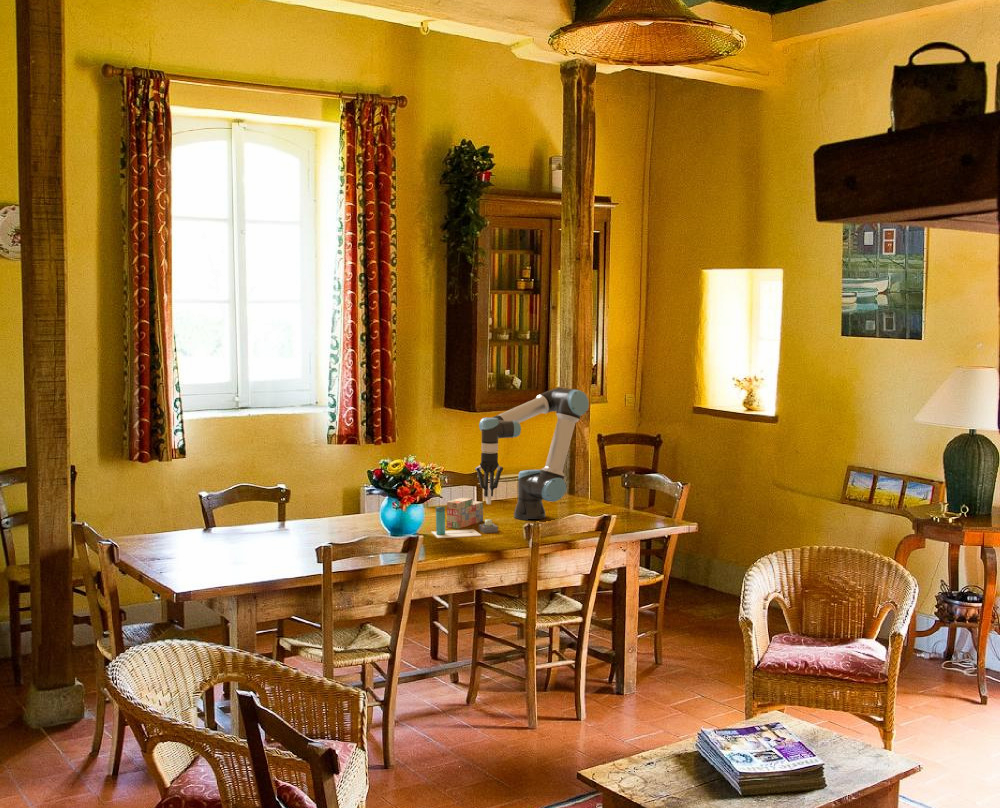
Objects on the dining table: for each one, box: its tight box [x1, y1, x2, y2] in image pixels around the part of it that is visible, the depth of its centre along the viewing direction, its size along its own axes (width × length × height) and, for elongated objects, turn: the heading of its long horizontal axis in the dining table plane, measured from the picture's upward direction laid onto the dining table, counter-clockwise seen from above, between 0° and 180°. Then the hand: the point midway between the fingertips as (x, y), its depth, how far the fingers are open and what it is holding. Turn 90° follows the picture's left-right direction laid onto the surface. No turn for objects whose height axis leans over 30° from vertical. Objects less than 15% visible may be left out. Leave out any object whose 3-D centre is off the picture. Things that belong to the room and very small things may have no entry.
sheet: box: [430, 528, 482, 539], centre depth 496 cm, size 20×12×1 cm, turn 107°
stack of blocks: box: [446, 496, 484, 530], centre depth 517 cm, size 21×6×12 cm, turn 148°
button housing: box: [478, 523, 499, 534], centre depth 503 cm, size 7×7×2 cm
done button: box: [484, 518, 493, 527], centre depth 503 cm, size 3×3×4 cm
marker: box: [435, 506, 446, 535], centre depth 493 cm, size 4×4×12 cm
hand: (488, 503), depth 502 cm, fingers closed
